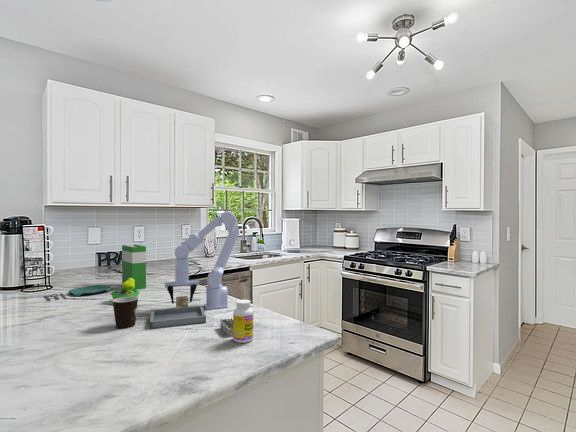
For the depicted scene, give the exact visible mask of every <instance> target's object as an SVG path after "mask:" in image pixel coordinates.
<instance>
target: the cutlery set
mask: <svg viewBox="0 0 576 432" xmlns="http://www.w3.org/2000/svg"><path fill="white" fill-rule="evenodd" d="M111 289H112V287H111V285H110V286H109V285H107V284H95V285H89V286H84V287H83V286H82V287H76V288H72V289H70V290H69V291H68V294H70V295H74V296H75V297H78V298H79V297H80V296H83V295H91V294H92V295H93V294H99V293H103V292H108V291H111ZM58 295H61V297H63V298H64V299H65V300H66V299H68V298H67V296H66V295H65V294H64V293H63V292H62V293H61V292H60V293H59V294H57V293H51V294H50V296H49V295H43V298H44V299H46V300H47V301H49V302H51V298H50V297H52V298H53V297H54V298H56V299H57V300H60V297H58Z"/></svg>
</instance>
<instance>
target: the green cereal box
mask: <svg viewBox="0 0 576 432" xmlns="http://www.w3.org/2000/svg"><path fill="white" fill-rule="evenodd" d="M121 247H122V248H121V269H122V270H121V273H122V274H121V277H122V280H121V283H122V284H123V283H124V282H125V281H127V279H128V278H134V280H135V287H134V289H133V290H136V291H139V290H145V288H146V289H147V246H144V245H141V244H133V245H123V244H122V245H121ZM122 284H121V285H122ZM138 289H139V290H138Z"/></svg>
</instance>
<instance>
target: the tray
mask: <svg viewBox="0 0 576 432" xmlns="http://www.w3.org/2000/svg"><path fill="white" fill-rule="evenodd" d="M206 323H207V316H206V313H205V309H204V307H203V305H195V306H193V305H192V306H188V307H182V308H176V307H173V308H162V309H152V310H151V314H150V319H149V329H150V330H153V329H160V328H161V329H162V328H171V327H181V326H188V325H190V326H191V325H198V324H206Z"/></svg>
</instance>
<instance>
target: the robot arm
mask: <svg viewBox="0 0 576 432" xmlns="http://www.w3.org/2000/svg"><path fill="white" fill-rule="evenodd" d="M223 225H224V226H225V227H226V229H227V232H228V234H227V237H226V238H225V240H224V243H223V245H222V248H221V251H220V252H219V255H218V257H217V260H216V262H215V264H214V267H213V269H212V270H211V271H210V272H209V273H208V275H207V279H206V284H207V285H206V286H205V288H206V289H205V291H206V292H205V293H206V294H205V295H206V297H205V298H206V299H205V301H206V303H204V306H205V309H206V310H213V309H223V308H228V307H229V306H228V305H229V303H228V301H229V299H228V298H229V297H228V294H229V291H228V287H227V286H223V284H222V277H223V274H224V271H225V268H226V266H227V263H228V261H229V260H230V257H231V254H232V252H233V249H234V247H235V244H236V243H237V240H238V238H239V235H240V229H239V223H238V219H237V217H236V215H235V214H234V212H233V211H230V210H227V211H223V212H222V214H219V215H218V216H216V217H214V218H213V219H212V220H211V221H210V222H209V223H208V224H206V225H205V226H204V228H202V229H200V231H199V232H194V233H190V234H189V235H188V237H187V238H186V239H185V240H184V241H181V242H180V244H181V245H177V247H176V248H175V250H174V255H175V266H174V267H175V268H174V270H175V271H174V275H175V276H174V277H175V278H174V279H175V280H174V281H168V282H164V288H166V290H167V292H168V294H169V297H170V299H171V305H172V304H173V305H174V299H175V298H174V287H175V288H177V287H190V288H189V289H190V291H189V292H190V296H189V303H192V302H193V298H194V295H195V291H196V290H197V286H198V287H199V286H200V281H199V280H190V279H189V278H190V276H189V275H190V274H189V272H190V269H189V264H190V263H189V262H190V261H189V255H190V253H191V252H193V251H195V250H196V249H197V248H198V247H199V246H201V244H203V240H204V238H205V237H207V235H208V234H209V233H211V232H212V231H213V230H215V229H216V228H217V227H222V226H223Z"/></svg>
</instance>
